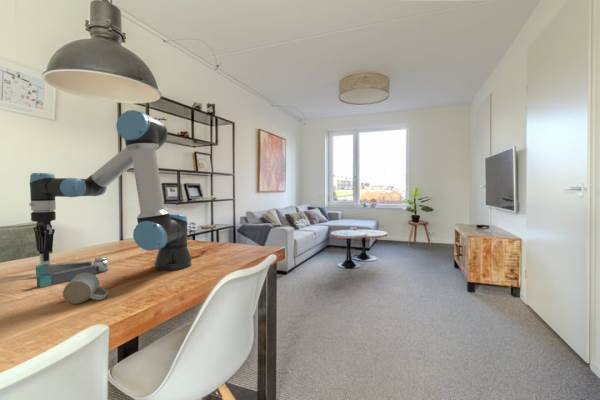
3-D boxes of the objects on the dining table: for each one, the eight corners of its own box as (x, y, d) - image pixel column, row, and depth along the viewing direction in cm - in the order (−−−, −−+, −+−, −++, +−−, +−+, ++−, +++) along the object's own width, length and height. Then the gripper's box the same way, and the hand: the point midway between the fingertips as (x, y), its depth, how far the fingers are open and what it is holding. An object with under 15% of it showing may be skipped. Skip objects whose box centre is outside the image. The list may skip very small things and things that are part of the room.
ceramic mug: (61, 307, 84) (60, 281, 84) (71, 297, 92) (71, 273, 92) (104, 302, 88) (104, 277, 88) (110, 293, 96) (110, 270, 96)
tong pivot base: (104, 269, 124) (103, 258, 123) (112, 271, 121) (111, 260, 120) (32, 284, 103) (32, 272, 103) (40, 287, 100) (39, 275, 100)
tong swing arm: (107, 268, 124) (107, 255, 124) (105, 271, 119) (105, 258, 119) (38, 274, 114) (38, 261, 114) (33, 278, 109) (32, 264, 109)
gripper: (24, 211, 118) (26, 268, 119) (38, 212, 111) (40, 273, 112) (47, 209, 124) (49, 264, 125) (62, 211, 118) (63, 268, 119)
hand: (44, 268), depth 119 cm, fingers closed
